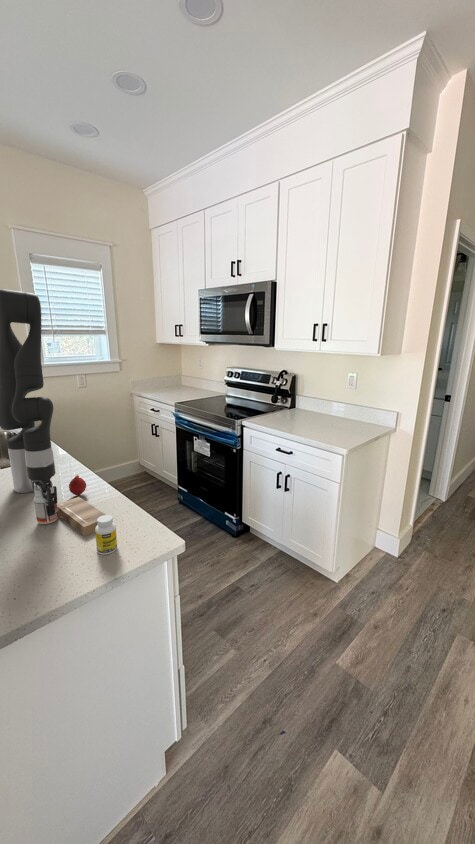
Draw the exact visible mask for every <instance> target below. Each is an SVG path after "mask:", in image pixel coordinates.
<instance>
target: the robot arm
mask: <svg viewBox="0 0 475 844" xmlns="http://www.w3.org/2000/svg"><path fill="white" fill-rule="evenodd" d="M12 323H16V324H23V325H25V324H27V325H29V329H28V331H29V332H28V335H27V337H26V338H25V340H24V342H23V344H22V343H21V342H20V340H19V339H18V338H17V336H16V334H15V332H14V330H13V329H12V326H11V324H12ZM42 366H43V365H42V305H41V299H40V298H39V297H38V295H37V294H35V293H32V292H26V291H19V290H12V289H0V429H1V430H3V431H13V430H19V429H20V431H18V433H16V434H15V435H13V436H11V437H10V438H8V439H7V440H6V447H7V451H8V457H9V464H10V470H11V476H12V482H13V489H14V492H15V493H18V494H27V493H33V494H34V497H35V496H36V495H35V492H34V489H35V488H38V490H39V491H40V492H41V497H42V499H44V501H45V504H46V511H47V515H48V516H51V515H54V514H55V507H54V504H56V503H57V504H58V492H57V489H58V487H57V486H56V485H54V486H53V482H52V480H51V479H52V478H53V477H54V476H56V465H55V458H54V457H55V456H54V451H53V448H52V440H51V425H52V424H51V423H52V418H53V414H54V404H53V401H52V400H51V399H50V398H49V397H47V396H37V397H36V396H35V397H26V396H27V395H28V394H29V393H31V392H35V391H39V390H41V389H43V387H44V384H45V383H44V374H43V367H42ZM35 422H40V423H39V424H38V425H37V426H35V425H36V424H35ZM52 486H53V487H52ZM43 492H44V493H47V495H44V493H43Z"/></svg>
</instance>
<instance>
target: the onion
mask: <svg viewBox="0 0 475 844" xmlns="http://www.w3.org/2000/svg"><path fill="white" fill-rule="evenodd" d="M68 489H69V492H70V493H71V494H72V495H75V496H77V497H80V495H82V494H83V493H85V491H86V489H87V483H86V481H85V480H84V479H83V478H82V477H80V475H79V474H77V475H75V476H74V477H73V478H72V479H71V481H70V482H69V484H68Z"/></svg>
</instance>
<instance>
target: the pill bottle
mask: <svg viewBox="0 0 475 844" xmlns="http://www.w3.org/2000/svg"><path fill="white" fill-rule="evenodd" d="M52 487H53V486H52ZM34 492H35V494H34V497H33V503H34V509H35V517H36V521H37V523H38V524H40V525H49V524H52V523H54V522H56V521H58V519H59V515H58V508H57V504H58V502H57V503H56V504H54V507H55V514H54V515H51V516H48V515H47V511H46V504H45V501H44V499H42V497H41V492H40V491H39V490H38V488H35V489H34ZM43 493H44V492H43ZM35 495H36V496H35ZM44 495H47V493H44Z"/></svg>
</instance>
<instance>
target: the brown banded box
mask: <svg viewBox="0 0 475 844" xmlns="http://www.w3.org/2000/svg"><path fill="white" fill-rule="evenodd" d="M57 508H58V517H60V518H62V519H63V520H65V522H67V523H68V524H70V525H71V526H72V527H73V528H74V529H76V530H77V531H78V532H80V533H81V534H82V535H84V536H85V537H87V536H88V535H90V534H93V533H95V528H96V526H97V525H98V524H97V519H98V518H99V517H100V516H103V515H106V514H105V513H104V512H102V511H101V510H99V509H98V508H97V507H95V506H94V505H92V504H90V503H89V502H88V501H86V500H84V499H83V498H81V497H80V496H77V497H74V498H71V499H69V500H66V501H62V502H58V503H57Z"/></svg>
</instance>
